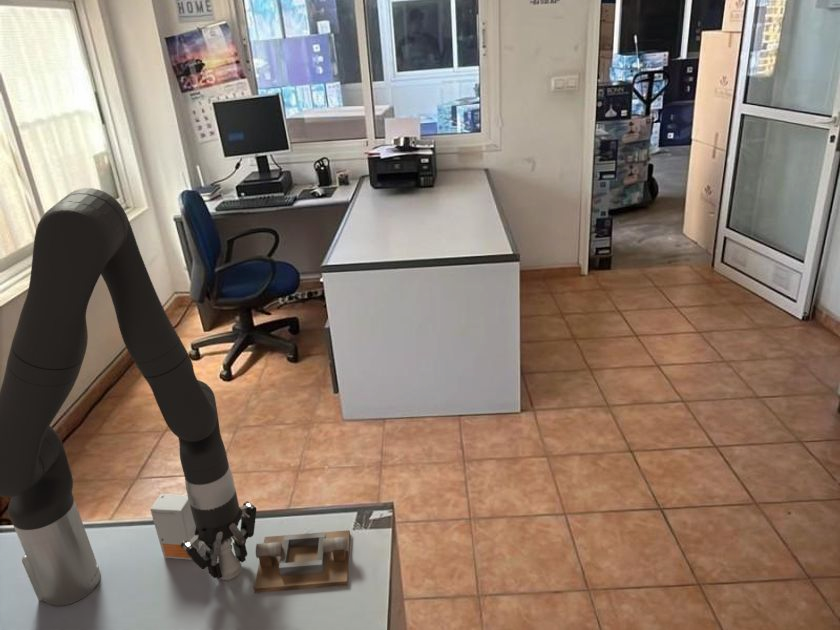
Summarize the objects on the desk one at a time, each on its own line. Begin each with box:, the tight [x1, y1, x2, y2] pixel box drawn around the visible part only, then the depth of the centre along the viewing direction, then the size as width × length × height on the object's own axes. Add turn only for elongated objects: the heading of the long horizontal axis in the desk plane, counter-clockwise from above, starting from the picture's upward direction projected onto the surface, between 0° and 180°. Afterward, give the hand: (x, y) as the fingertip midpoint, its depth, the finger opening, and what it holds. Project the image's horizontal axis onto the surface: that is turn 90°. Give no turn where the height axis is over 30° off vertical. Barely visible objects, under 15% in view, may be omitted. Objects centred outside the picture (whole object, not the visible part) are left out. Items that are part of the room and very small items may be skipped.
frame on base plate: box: [253, 529, 351, 594], centre depth 115 cm, size 16×12×5 cm
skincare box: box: [150, 493, 203, 561], centre depth 118 cm, size 6×4×12 cm
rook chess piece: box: [218, 537, 243, 581], centre depth 114 cm, size 4×4×8 cm
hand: (229, 567), depth 114 cm, fingers closed on rook chess piece, 4 cm apart
